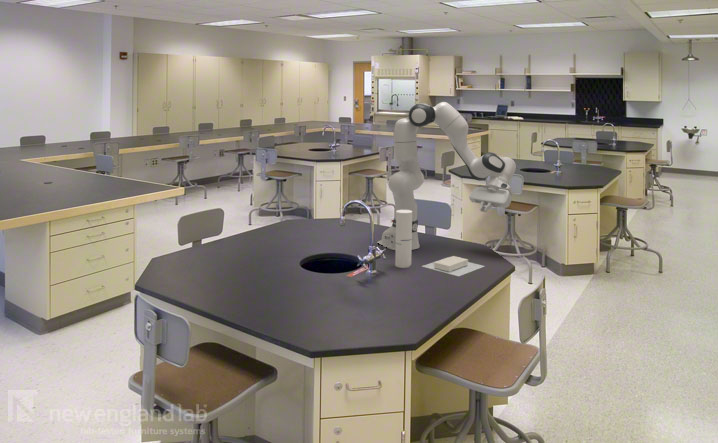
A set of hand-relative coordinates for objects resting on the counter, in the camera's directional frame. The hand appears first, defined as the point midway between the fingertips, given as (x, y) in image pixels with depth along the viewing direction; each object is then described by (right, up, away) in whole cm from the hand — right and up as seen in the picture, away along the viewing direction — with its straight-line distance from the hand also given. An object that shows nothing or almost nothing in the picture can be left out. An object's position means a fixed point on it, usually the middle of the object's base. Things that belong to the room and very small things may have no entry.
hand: (482, 210), depth 260 cm
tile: (-12, -22, -7) cm, 26 cm away
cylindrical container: (-37, -25, -7) cm, 45 cm away
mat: (-15, -25, -10) cm, 32 cm away
